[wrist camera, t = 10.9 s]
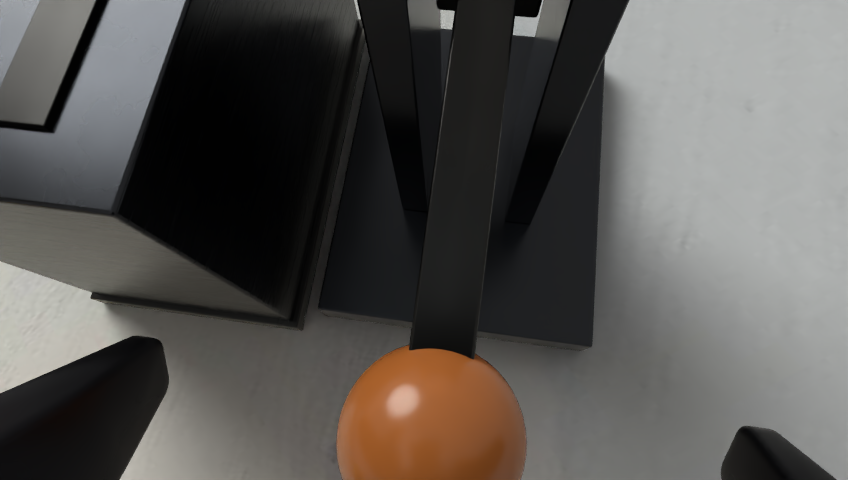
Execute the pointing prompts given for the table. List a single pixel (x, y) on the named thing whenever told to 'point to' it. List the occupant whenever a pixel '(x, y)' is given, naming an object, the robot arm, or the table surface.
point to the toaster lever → (448, 293)
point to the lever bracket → (515, 177)
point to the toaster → (175, 148)
